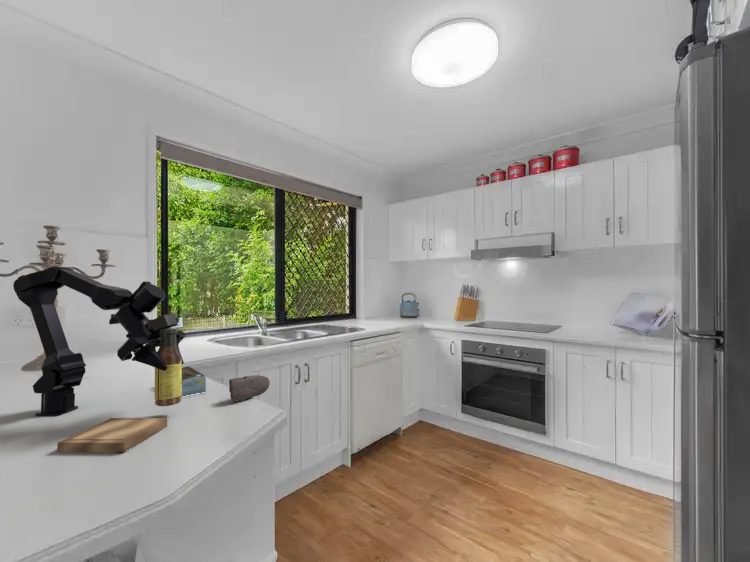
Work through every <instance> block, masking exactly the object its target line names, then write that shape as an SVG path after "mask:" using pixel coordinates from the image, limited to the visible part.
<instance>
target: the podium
mask: <svg viewBox="0 0 750 562" xmlns="http://www.w3.org/2000/svg"><path fill="white" fill-rule="evenodd" d="M165 427H166V428H167V427H168V418H167V417H164V418H163V417H159V418H158V417H156V418H155V417H154V418H153V417H152V418H151V417H150V418H149V417H143V418H142V417H141V418H140V417H138V418H137V417H110V418H108V419H106V420H104V421H102V422H99V423H97V424H95V425H93V426H90V427H89V428H86V429H84V430H82V431H79V432H78V433H75V434H73V435H71V436H69V437H66V438H65V439H63V440H60V441H58V442H57V445H56V446H57V448H56V449H57V450H56V451H57V452H92V453H91V454H93V453H94V454H96V453H97V454H106V453H105V452H125V453H127V452H128V451H130V450H131V449H130V448H132V447H133V448H135V447H136V446H135V445H137V444H138V445H140V444H142V443H143V442H145V441H146V440H148V439H149V437H150V438H151V437H153V436H155V435H156V434H158V433H159V432H160V430H161V431H163V430H164V429H166V428H165ZM163 428H164V429H163ZM162 429H163V430H162ZM157 432H158V433H157ZM155 433H156V434H155ZM152 435H153V436H152ZM147 438H148V439H147ZM144 440H145V441H144ZM142 441H143V442H142ZM139 443H140V444H139ZM138 445H137V446H138ZM134 446H135V447H134ZM133 448H132V449H133ZM129 449H130V450H129ZM127 450H128V451H127ZM126 451H127V452H126ZM103 452H104V453H103Z"/></svg>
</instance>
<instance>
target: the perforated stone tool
mask: <svg viewBox="0 0 750 562" xmlns="http://www.w3.org/2000/svg"><path fill="white" fill-rule="evenodd" d="M270 382H271V381H270V379H269V378H268V377H267V376H264V375H257V374H256V375H255V374H254V375H246V376H242V377H235V378H230V379H229V380H228V384H229V386H228V388H229V389H228V390H229V393H230V394H229V395H230V396H229V397H230V399H231V400H232V402H238V401H245V400H247V399H248V398H249V399H251V398H250V397H252V398H254V397H257V396H260V395H262V394H264V393H266V392H267V390H268V389H269V388H270V384H271V383H270Z"/></svg>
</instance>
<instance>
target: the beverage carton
mask: <svg viewBox="0 0 750 562" xmlns="http://www.w3.org/2000/svg"><path fill="white" fill-rule="evenodd" d="M206 378H207V377H206V375H204V373H203V374H202V373H201V372H200V371H198V370H196V369H195V368H193V367H191V366H185V367H184V366H182V396H186V395H191V394H196V393H202V392H206V393H207V389H206V388H207V379H206Z"/></svg>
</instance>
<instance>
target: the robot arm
mask: <svg viewBox="0 0 750 562" xmlns="http://www.w3.org/2000/svg"><path fill="white" fill-rule="evenodd" d="M12 286H13V291H14V292H15V295H16V296H17V298H18V300H19V301H21V302H22V303H23V304H25V305H26V307H28V308H29V309H30V312H31V314H32V315H31V316H32V318H33V321H34V324H35V327H36V330H37V333H38V337H39V339H40V342H41V345H42V348H43V350H44V354H45V359H44V361H43V363H42V366H41V372H42V375H41V377H39V378H38V379H37V380H36V382H34V384H33V385H32V389H33V393H34V394H41V398H40V400H41V401H40V411H39V412H35V413H34V416H60V415H62V414H65V413H69V412H70V411H73V410H74V411H75V410H76V409H79V405H76V403H75V401H76V400H75V399H76V393H75V387H79V386H81V384H82V380H83V378H84V376H85V374H86V367H87V364H86V363H85V361H84V356H83V354H82V352H77V353H74V352H73V350H71V349H70V346H69V343H68V341H67V338H66V335H65V333H64V329H63V326H62V323H61V320H60V316H59V314H58V311H57V308H56V305H55V302H56V300H57V297H58V294H59V291H58V290H59V289H62V288H63V287H67V288H69V289H70V290H71V289H72V290H74V291H76V292H78V293H80V294H82V295H85V296H86V297H88V298H89V299H90V300H91V302H92V303H93V304H94V305H96V306H97V307H98V308H99V309H101V310H103V311H114V310H117V312H115V313H112V314H110V318H109V321H108V324H109V325H117V324H120V325H121V326H122V328H123V329H124V330H125V331H126V332H127V334H126V335H125V337H126V338H127V340H126V341H125V342H124V343H123V344H122V345H120V347H119V348H118V349H117V350H116V351H117V354H116V355H117V356H116V357H117V358H119V360H120V361H121V362H124V361H127V360H128V361H129V360H131V361H132V362H135V361H136V362H138V363H141V364H145V365H147V366H150V367H152V368H154V369H155V368H158V369H160V370H163V371H165V370H166V369H167V366H166V364H165V362H164V361H163V360H162V358H161V357H160V356H159V354H158V353H157V347H160V329H165V328H174V327H177V326H178V325H179V324H178V323H179V322H180V317H179V316H178V315H177V314H175V313H174V312H170V313H168V314H162V315H160V316H158V317H156V318H153V319H150V318H149V317H148V316H147V315H146V314H145V313H152V312H153V311H155V309H156V308H157V307H158V306H159V304H161V302H162V301H163V300H164V299H165V298H166V297H167V294H166V292H165V290H163V288H160V287H159V286H157V285H154V284H152V282H151V281H146V280H145V281H142V282H141V284H140V285H139V286H138V287H137V288H136V289H135V290H134V292H133V293H132V291H131V290H129V289H127V288H122V287H120V286H119V287H118V286H113V285H107V284H103V283H101V282H99V281H97V280H95V279H93V278H91V277H88V276H86V275H84V274H82V273H80V272H78V271H75V270H74V269H73V268H71V267H67V266H55V265H54V266H50V267H48V268H46V269H43V270H38V271H35V272H31V273H28V274H22V275H20V276H18V277H17V278H16V279H15V280H14V282H13V284H12ZM186 337H187V335H186V333H185V332H184V331H183V330H178V329H177V334H176V342H177V346H178V349H179V351H180V347H179V346H180V345H179V344H180V343H181V342H182V341H183V340H184V339H185V338H186ZM132 352H133V354H132ZM180 354H181V357H182V366H183V364H184V363H185V361H184V359H183V356H182V353H181V351H180ZM133 355H134V356H133Z"/></svg>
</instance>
